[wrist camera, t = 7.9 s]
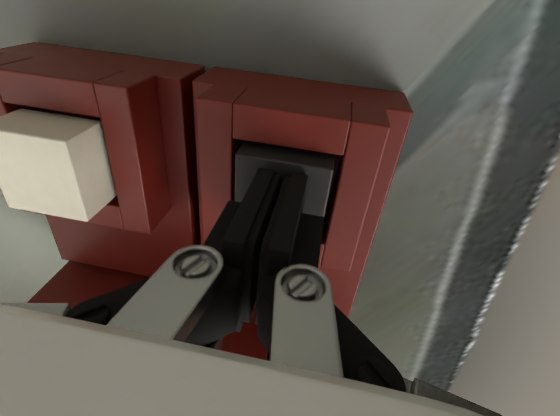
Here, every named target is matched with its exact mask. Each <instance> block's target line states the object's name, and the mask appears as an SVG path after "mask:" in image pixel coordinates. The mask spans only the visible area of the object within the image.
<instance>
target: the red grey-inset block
mask: <svg viewBox="0 0 560 416" xmlns="http://www.w3.org/2000/svg"><path fill="white" fill-rule="evenodd" d="M192 87H193V106H194V124H195V143H196V161H197V180H198V198H199V217H200V235H201V245H203V244H204V242H205V241H206V239H207V237H208V235H209V234H210V232H211V230H212V228H213V227H214V225H215V223H216V221H217V220H218V218H219V216H220V214H221V213H222V211H223V209H224V207H225V206H226V204H227V202H228V201H230V200H231V201H235V155H236V153H237V151H238V150H239V148H240V147H241V145H242V144H243V142H244V141H245V140H246V141H252V142H259V143H265V144H271V145H278V146H284V147H291V148H297V149H303V150H310V151H316V152H323V153H329V154H335V161H334V171H333V176H332V181H331V186H330V191H329V196H328V201H327V206H326V211H325V216H324V224H323V232H322V240H321V248H320V256H319V265H318V269H320V270H321V271H322V272H324V273H325V274H326V275H327V277H328V278H329V279H330V282H331V285H332V292H333V300H334V305H335V306H336V307H337V308H338V309H339V310H340V311H341V312H342V313H343V314H344V315H345V316H349V315H350V312H351V309H352V306H353V302H354V299H355V296H356V293H357V290H358V286H359V283H360V280H361V277H362V274H363V270H364V267H365V264H366V261H367V258H368V255H369V251H370V248H371V245H372V242H373V239H374V235H375V232H376V229H377V226H378V223H379V219H380V216H381V213H382V210H383V207H384V204H385V200H386V197H387V194H388V191H389V188H390V184H391V181H392V178H393V175H394V172H395V169H396V165H397V162H398V159H399V156H400V153H401V149H402V146H403V143H404V140H405V137H406V133H407V130H408V127H409V124H410V121H411V118H412V114H413V111H412V109H411V107H410V105H409V102H408V100H407V98H406V96H405V94H404V93H402V92H395V91H388V90H380V89H373V88H366V87H359V86H351V85H344V84H337V83H329V82H322V81H315V80H307V79H300V78H293V77H285V76H278V75H271V74H263V73H256V72H249V71H241V70H234V69H227V68H219V67H214V68H212V69H210V70H209V71H207V72H206V73H204V74H202V75H201V76H199V77H197V78H196V79H194V80H193V81H192Z"/></svg>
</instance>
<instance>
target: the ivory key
mask: <svg viewBox="0 0 560 416" xmlns="http://www.w3.org/2000/svg"><path fill="white" fill-rule="evenodd" d="M0 188H1V190H2V192H3V195H4V197H5V199H6V202H7V204H8V206H9V207H10V208H16V209H21V210H26V211H32V212H37V213H42V214H48V215H53V216H58V217H64V218H69V219H74V220H80V221H85V222H87V221H89V220H90V219H91V218H92V217H93V216H94V215H96V214H97V213H98V212H99V211H100V210H101V209H102V208H103V207H104V206H105V205H107V204H108V203H109V202H110V201H111V200H112V199H113V198H114V197H115V196H116V195H117V194H116V189H115V184H114V179H113V175H112V170H111V165H110V161H109V156H108V151H107V147H106V142H105V137H104V132H103V128H102V123H101V121H98V120H92V119H85V118H79V117H73V116H66V115H60V114H53V113H47V112H41V111H34V110H28V109H18V110H16V111H13V112H10V113H8V114H5V115H3V116H0Z"/></svg>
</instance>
